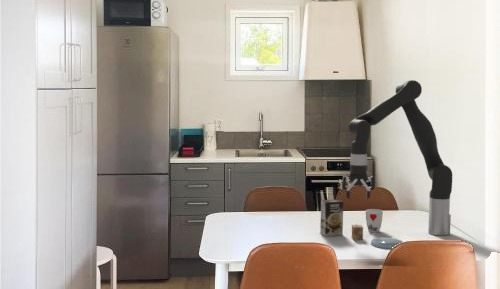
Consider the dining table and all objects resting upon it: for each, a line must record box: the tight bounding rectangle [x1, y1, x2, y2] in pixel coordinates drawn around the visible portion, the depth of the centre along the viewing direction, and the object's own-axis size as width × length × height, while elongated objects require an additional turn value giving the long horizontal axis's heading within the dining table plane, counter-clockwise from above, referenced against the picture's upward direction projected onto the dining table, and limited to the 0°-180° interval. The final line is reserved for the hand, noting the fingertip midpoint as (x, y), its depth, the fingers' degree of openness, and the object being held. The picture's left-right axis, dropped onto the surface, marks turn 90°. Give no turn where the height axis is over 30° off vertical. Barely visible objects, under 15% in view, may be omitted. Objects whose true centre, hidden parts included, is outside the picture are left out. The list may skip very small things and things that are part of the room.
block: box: [351, 224, 364, 241], centre depth 257 cm, size 4×4×6 cm
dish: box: [370, 237, 404, 250], centre depth 248 cm, size 14×14×1 cm
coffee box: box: [319, 199, 344, 237], centre depth 265 cm, size 9×6×16 cm
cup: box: [365, 208, 384, 233], centre depth 272 cm, size 8×8×10 cm
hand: (357, 198), depth 256 cm, fingers open, 8 cm apart
